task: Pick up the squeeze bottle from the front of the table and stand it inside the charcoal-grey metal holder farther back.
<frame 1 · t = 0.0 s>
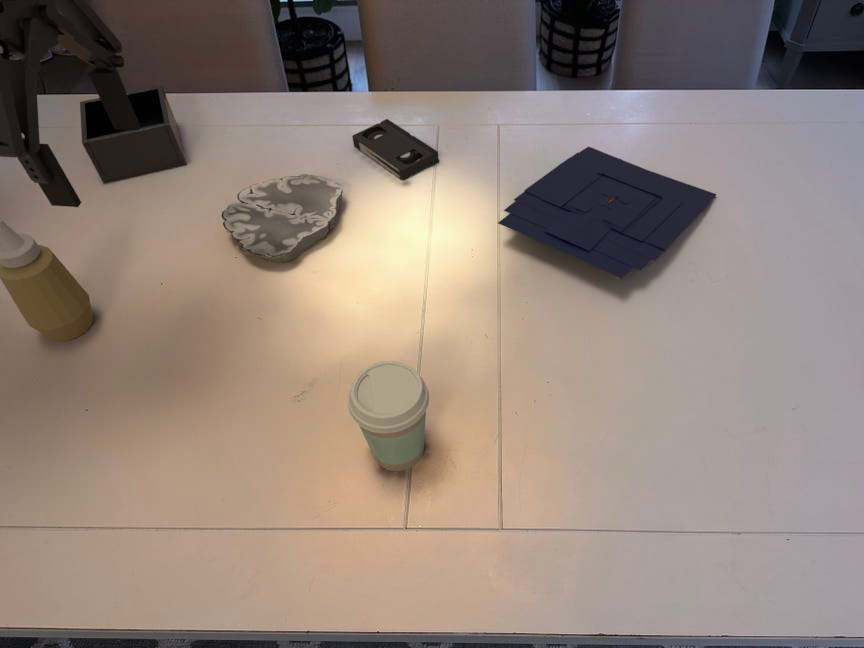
hand: (99, 164, 70), 27 cm above the table, tool pointing down, fingers open, 13 cm apart
holder: (142, 153, 119), on the table
squeeze bottle: (71, 326, 92), on the table
coffee cup: (399, 450, 79), on the table
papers: (605, 219, 105), on the table
brain slice: (284, 227, 105), on the table
vhs tape: (395, 154, 118), on the table
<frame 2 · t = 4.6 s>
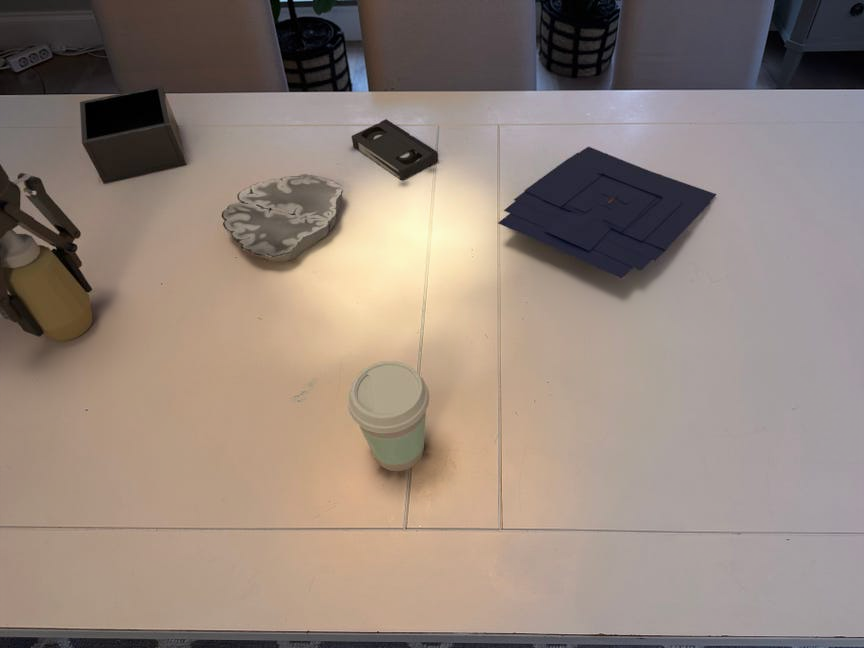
hand: (59, 309, 90), 3 cm above the table, tool pointing down, fingers closed on squeeze bottle, 8 cm apart
squeeze bottle: (71, 326, 92), on the table, touching gripper
everything else where it was.
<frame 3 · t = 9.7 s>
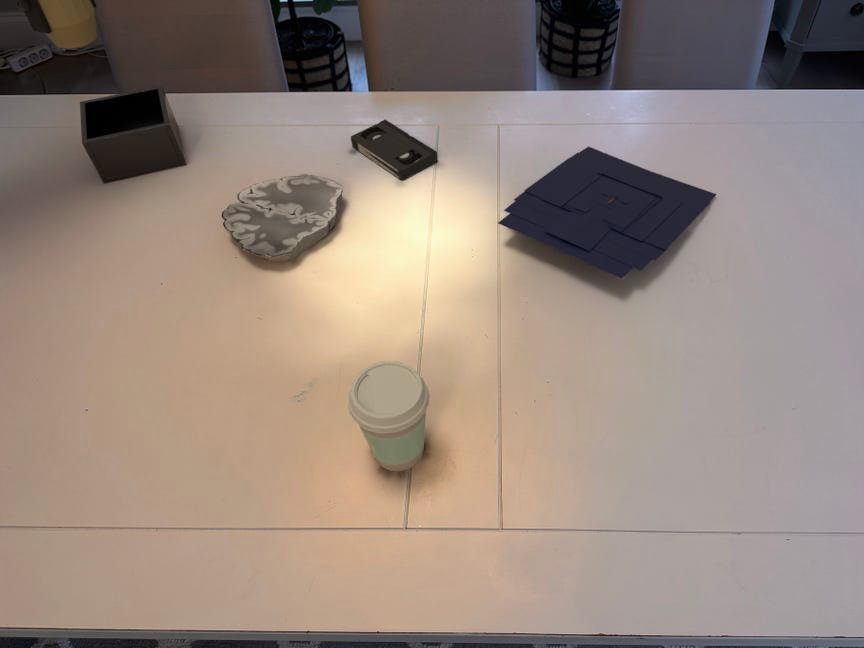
hand: (65, 18, 97), 25 cm above the table, tool pointing down, fingers closed on squeeze bottle, 8 cm apart
squeeze bottle: (77, 42, 99), point 22 cm above the table, touching gripper
everything else where it was.
when the fingers open (4 cm above the table, at t = 15.2 s): squeeze bottle stays where it is, resting on holder.
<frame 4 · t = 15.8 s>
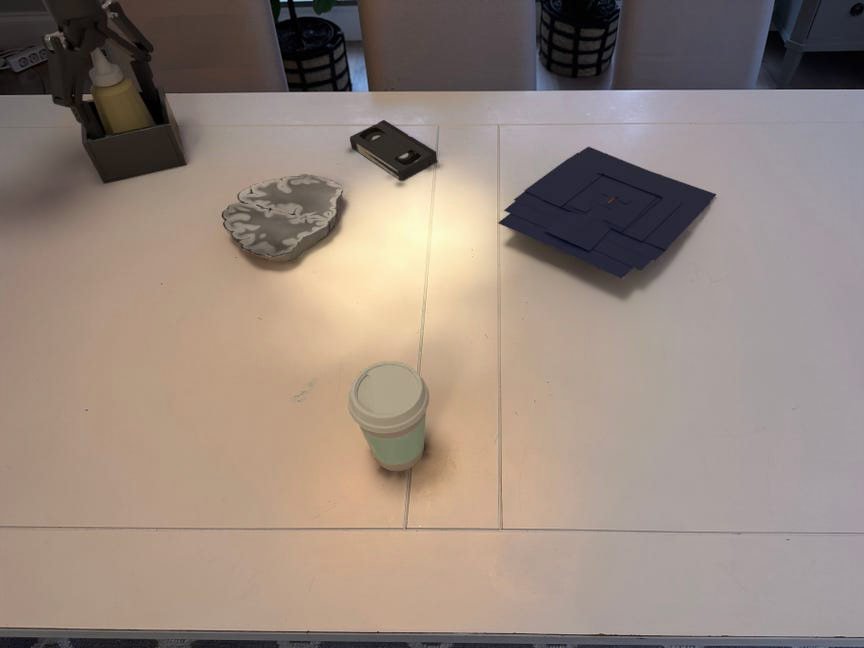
hand: (126, 118, 113), 7 cm above the table, tool pointing down, fingers open, 12 cm apart
squeeze bottle: (140, 150, 118), point 1 cm above the table, touching holder
everything else where it was.
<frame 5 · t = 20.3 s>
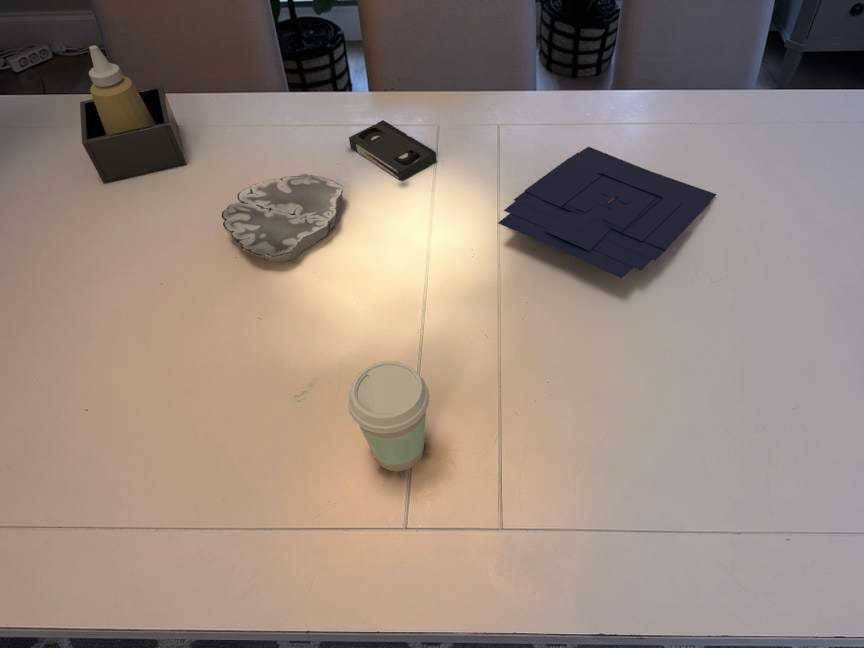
nothing on the table moved.
at the end: squeeze bottle inside the target area in the holder (0.0 cm from its centre), point 0.6 cm above the holder's base; squeeze bottle tilted 0°; the gripper is holding nothing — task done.
